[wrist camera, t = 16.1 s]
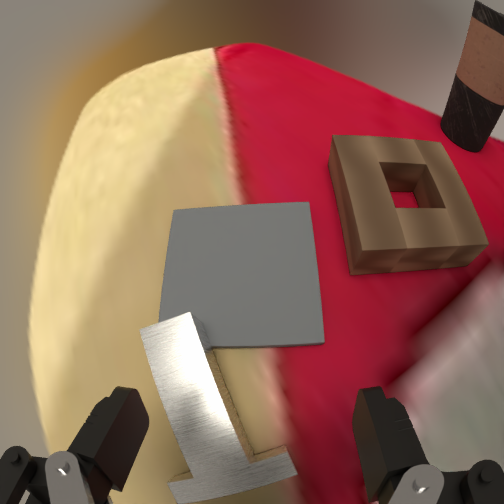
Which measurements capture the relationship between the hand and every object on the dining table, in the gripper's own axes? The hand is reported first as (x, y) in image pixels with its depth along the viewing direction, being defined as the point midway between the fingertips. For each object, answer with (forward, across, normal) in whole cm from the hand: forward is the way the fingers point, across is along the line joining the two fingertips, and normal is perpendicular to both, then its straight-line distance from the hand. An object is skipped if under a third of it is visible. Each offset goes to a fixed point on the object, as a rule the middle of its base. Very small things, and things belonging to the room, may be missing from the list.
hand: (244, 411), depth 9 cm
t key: (+9, +6, +2) cm, 11 cm away
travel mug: (+28, -29, -13) cm, 42 cm away
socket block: (+18, -13, -4) cm, 23 cm away
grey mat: (+14, +2, 0) cm, 14 cm away
